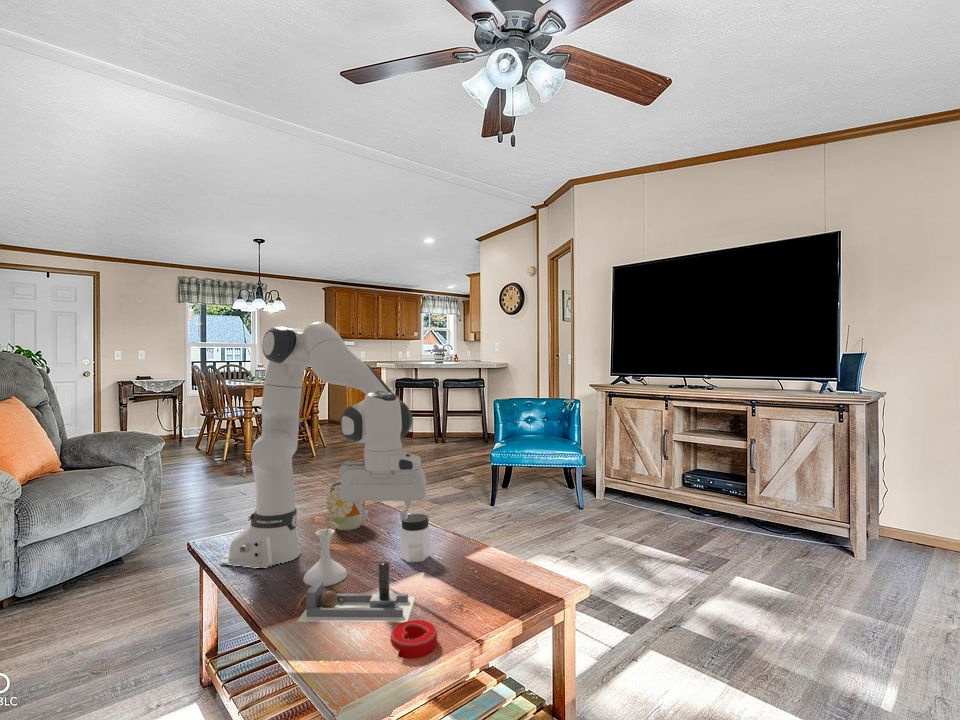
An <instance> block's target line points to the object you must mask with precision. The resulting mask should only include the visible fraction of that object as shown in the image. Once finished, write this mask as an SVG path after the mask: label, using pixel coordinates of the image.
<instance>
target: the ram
mask: <svg viewBox="0 0 960 720" xmlns="http://www.w3.org/2000/svg"><path fill="white" fill-rule="evenodd" d="M372 594H373V595H372V597H371V599H370V608H397V606H398V594H399V593H390V562H389V561H380V562H379V563H378V593H372Z"/></svg>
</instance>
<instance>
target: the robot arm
mask: <svg viewBox="0 0 960 720" xmlns="http://www.w3.org/2000/svg"><path fill="white" fill-rule="evenodd" d="M261 345H262V346H261V347H262V353H263V355H264V357H265V358H266V359H267V360H268V365H267V368H266V372H265V376H264V382H263V383H264V384H263V392H262V399H261V407H260V412H261V434H260V436H259V437H258V438H257V439H256V440H255V441H254V443H253V444H252V447H251V449H250V450H251V451H250V460H251V462H252V469H253V476H254V481H255V491H256V492H255V494H256V495H255V497H256V498H255V499H256V500H255V502H256V504H255V505H256V509H255V510H254V512H253V513H251V514H250V516H248V517H247V521H248V522H250V524H249V525H248V526H247V527H245V528H244V529H243V530H241V531H240V533H238V534H237V535H235V537H234V538H232V540H231V542H230V546H229V551H228V552H226V553H225V554H224V555H223V556H222V557H221V559H220V564H221V563H222V564H231V565H240V566H250V567H259V568H265V567H269V566H271V567H273V566H272V565H274V566H276V565H275V564H278V565H281V564H280V563H282V564H286V563H288V561H289V562H290V561H293V560H295V559H297V558H299V557H300V556H301V554H302V551H301V550H302V549H301V548H300V547H301V546H300V544H299V541H298V540H299V539H298V534H297V533H298V532H297V523H298V512H297V511H298V510H297V507H296V482H295V477H294V471H293V470H294V469H293V456H294V455H295V454H296V452H297V449H298V442H299V431H300V429H299V428H300V427H299V426H300V409H301V401H302V393H303V392H302V391H303V385H304V384H303V383H304V382H303V381H304V373H305V370H306V369H307V368H309V367H310V368H311V370H312V372H313V373H314V374H315V375H316V376H317V378H319V379H320V380H321V381H323V382H324V383H326V384H330V385H338V386H344V387H349V388H353V389H355V390H359V391H361V392H362V393H364V394H365V396H364V399H363V400H362V401H359V402H358V403H355V404H353V405H349V406H347V407H346V408H345V410H343V413H342V414H341V417H340V420H339V421H340V422H339V423H340V424H339V427H340V433H341V435H342V436H343V437H344V439H346V440H347V441H348V442H349V443H352V444H353V443H354V444H363V443H364V449H363V451H364V452H363V456H364V459H362V460H346V461H345V462H343V463H342V464H341V465H340V467H339V476H340V478H341V480H340V482H341V486H340V498H341V499H342V500H343V501H355V506H356V507H357V509H358V511H359V512H360V519H361V521H362V520H363V521H364V520H366V521H367V520H368V519H369V510H368V509H367V510H366V509H365V507H364V508H363V506H362V503H363V501H365V502H399V501H401V502H402V501H404V506H406V507H405V508H404V509H401V510H400V512H399V515H400V517H399V519H400V520H402V519H407V518H408V515H409V513H408V512H409V509H410V508H411V505H412V504H413V501H419V502H420V501H424V499H425V498H426V497H427V494H428V488H427V487H428V485H427V477H426V474H425V470H424V469H423V468H422V467H421V465H422V457H421V456H420V455H417V454H413V453H411V452H410V453H409V452H406V451H403V443H402V439H404V438H405V437H406V436H407V434H408V433H409V432H410V430H411V428H412V426H413V414H412V412H411V410H410V408H409V406H408V405H407V404H406V403H405V402H404V401H402V400H401V399H400V398H399V396H398V395H397V394H396V393H394V392H392V390H391V389H390V388H389V387H388V385H387V384H386V383H385V382H384V380H383V379H382V378H381V377H380V375H379V374H378V373H377V372H376V371H375V370H374V369H373V367H371V365H369V364H367V363H366V362H364V361H362V359H360V358H358V357H357V355H355V354H354V353H353V352H352V351H351V350H350V349H349V348H348V346H347V345H346V343H345V341H344V339H343V338H342V337H341V336H340V334H339V333H338V332H337V331H336V330H335V329H334V327H333V326H332V325H330V324H329V323H327V322H324V321H316V322H312V323H310V324H309V325H307V326H306V327H305V328H296V327H295V328H291V327H286V326H275V327H271V328H269V329H268V330H267V331H266V333H265V334H264V336H263V339H262V344H261ZM285 562H286V563H285ZM269 568H270V567H269ZM265 569H266V568H265Z"/></svg>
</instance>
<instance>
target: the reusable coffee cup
mask: <svg viewBox="0 0 960 720" xmlns="http://www.w3.org/2000/svg"><path fill="white" fill-rule="evenodd" d="M340 486H341V481H338V482H335V483H332V484H331V485H330V490H329V494H331V493H332V491H334V490H335V489H337V490H340ZM365 502H366V501H363V503H362V506H363V508H364V509H365ZM352 504H353V506H352V507H351V508H352V511H350V513H349V514H346V516H345V517H346V518H347V519H348V521H347V522H345V523H344V524H341V525H338V524H336V523H335V522H334V526H335V527H334V528H335V529H336V528H337V529H336V530H338V529H339V530H340V531H350V530H351V531H352V530H355V529H358V528H360V527H361V525H362V520H361V519H360V512H359V511H358V509H357V507H356V506H355V501H353V502H352ZM334 518H335V517H334ZM339 530H338V531H339Z"/></svg>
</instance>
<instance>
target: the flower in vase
mask: <svg viewBox="0 0 960 720" xmlns="http://www.w3.org/2000/svg"><path fill="white" fill-rule="evenodd" d="M352 502H353V501H343V500H342V499H341V498H340V490H337V489H335V490H334V491H332V493H331V494H330V493H328V494H327V497H326V502H325V505H326V507H325V509H326V510H327V511H328V513H329V514H330V516H331V517H332V518H331V521H330V523H329V524H328V523H323V522H320V521H318V520H316V523H317V525H320V526H324V527H327V528H323V529H322V528H321V529H318V530H316V532H315V535H316V536H317V538H318V540H319V544H320V557H319V560H318V561H317V562H316V563H315V564H314V565H313V566H312V567H311V568H309V570H307V571H306V573H304V576H303V579H302V580H303V583H304V584H305V585H306V586H310V587H311V586H312V585H313V584H314V582H323V587H329V586H333V585H336V584H339V583H341V582H342V581H344V580H345V579H346V578H347V576H348V572H347V569H346V568H345V567H344V566H342V565H341V564H340V563H338V562H337V561H335V560H334V559H332V557H331V554H330V550H331V549H330V547H331V540H332V537H333V535H334V533H335V530H334V529H333V528H331V525H332V524H333V522H334V524H335V523H336V524H338V525H341V524H344V523H345V522H347V521H348V519H347V518H346V517H345V516H346V514H349V513H350V511H352V508H351V507H352V506H353V504H352ZM334 517H335V518H334Z"/></svg>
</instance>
